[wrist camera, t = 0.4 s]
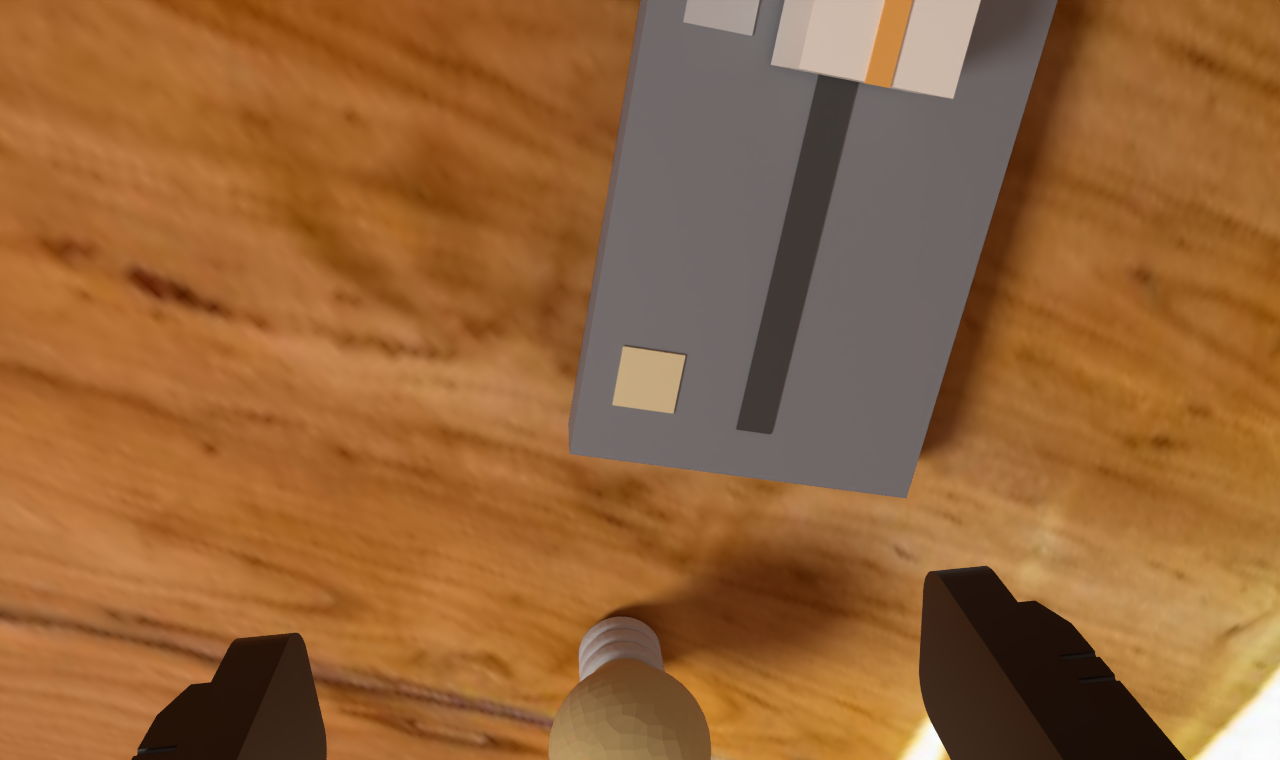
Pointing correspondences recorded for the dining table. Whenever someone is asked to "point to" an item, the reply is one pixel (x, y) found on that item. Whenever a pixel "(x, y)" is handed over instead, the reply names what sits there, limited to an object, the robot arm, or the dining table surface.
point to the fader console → (789, 249)
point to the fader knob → (879, 41)
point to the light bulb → (627, 702)
